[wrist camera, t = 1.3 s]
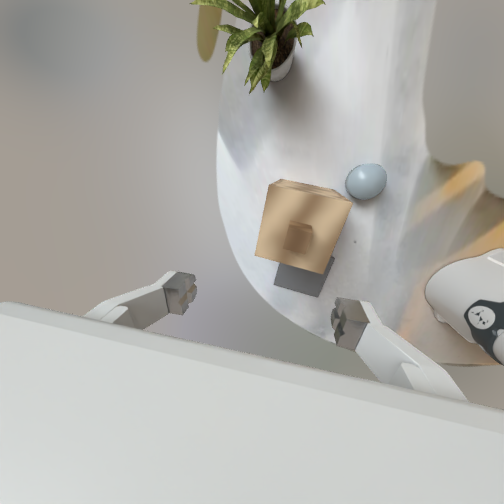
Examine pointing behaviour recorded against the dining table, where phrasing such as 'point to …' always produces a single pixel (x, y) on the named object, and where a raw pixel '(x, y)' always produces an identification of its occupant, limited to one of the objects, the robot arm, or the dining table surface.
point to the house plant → (265, 35)
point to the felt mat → (302, 278)
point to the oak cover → (301, 224)
